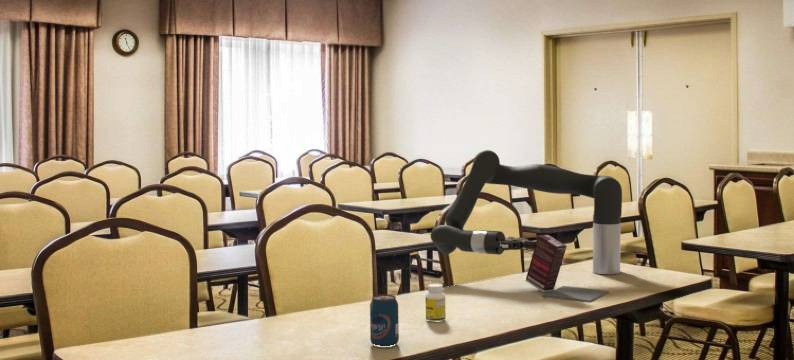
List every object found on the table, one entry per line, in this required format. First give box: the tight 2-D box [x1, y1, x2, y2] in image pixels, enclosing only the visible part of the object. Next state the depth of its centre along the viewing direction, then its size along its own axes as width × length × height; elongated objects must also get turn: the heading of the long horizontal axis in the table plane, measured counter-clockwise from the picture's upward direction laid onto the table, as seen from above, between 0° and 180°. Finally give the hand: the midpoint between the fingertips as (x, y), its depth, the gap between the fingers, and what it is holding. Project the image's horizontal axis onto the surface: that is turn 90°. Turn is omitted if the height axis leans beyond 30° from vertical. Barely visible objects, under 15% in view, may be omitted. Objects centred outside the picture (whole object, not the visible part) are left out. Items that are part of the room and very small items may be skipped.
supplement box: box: [525, 234, 568, 294], centre depth 280 cm, size 9×5×16 cm, turn 40°
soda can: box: [369, 294, 400, 346], centre depth 221 cm, size 7×7×12 cm
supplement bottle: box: [425, 283, 447, 322], centre depth 245 cm, size 5×5×10 cm
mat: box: [542, 285, 610, 303], centre depth 276 cm, size 16×15×1 cm
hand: (537, 245), depth 282 cm, fingers closed
